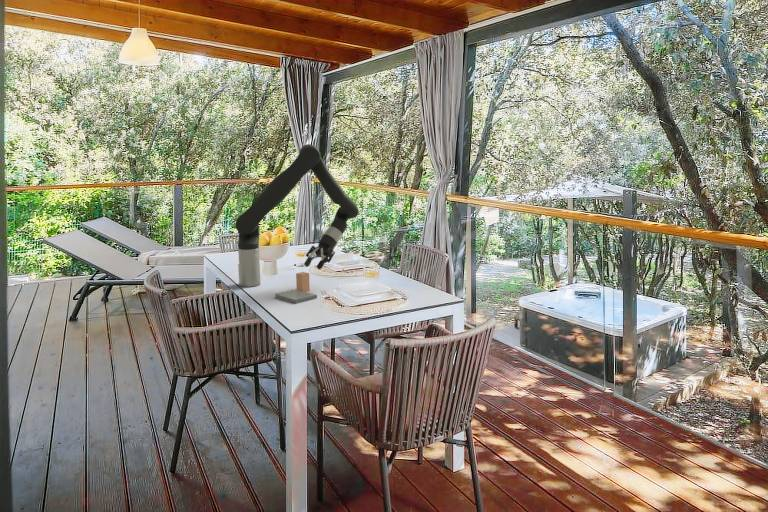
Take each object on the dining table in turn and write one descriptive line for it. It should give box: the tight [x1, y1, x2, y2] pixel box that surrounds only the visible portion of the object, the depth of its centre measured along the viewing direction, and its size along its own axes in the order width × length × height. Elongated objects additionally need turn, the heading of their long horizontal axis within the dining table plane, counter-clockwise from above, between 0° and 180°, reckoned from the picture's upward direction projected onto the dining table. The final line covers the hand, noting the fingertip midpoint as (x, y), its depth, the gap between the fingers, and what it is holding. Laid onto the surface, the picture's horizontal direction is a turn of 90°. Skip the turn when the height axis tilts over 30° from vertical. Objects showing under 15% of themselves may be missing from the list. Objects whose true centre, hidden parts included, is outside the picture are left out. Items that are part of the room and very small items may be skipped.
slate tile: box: [274, 288, 318, 304], centre depth 229 cm, size 14×11×2 cm
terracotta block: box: [295, 271, 310, 292], centre depth 240 cm, size 4×4×8 cm
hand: (311, 267), depth 243 cm, fingers open, 8 cm apart
